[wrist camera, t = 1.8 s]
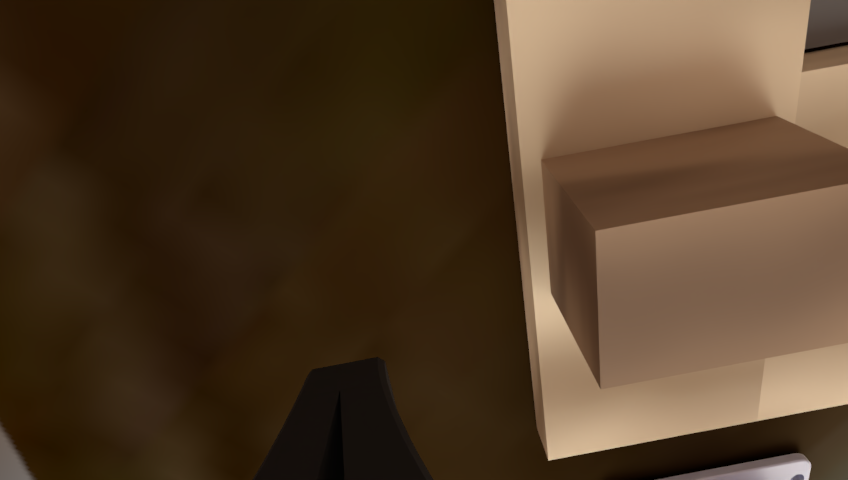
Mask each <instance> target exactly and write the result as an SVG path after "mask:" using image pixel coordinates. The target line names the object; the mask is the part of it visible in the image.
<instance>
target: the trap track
mask: <svg viewBox="0 0 848 480" xmlns="http://www.w3.org/2000/svg"><path fill="white" fill-rule="evenodd" d="M494 7H495V17H496V27H497V37H498V47H499V57H500V67H501V77H502V87H503V97H504V107H505V117H506V127H507V136H508V146H509V156H510V166H511V176H512V186H513V196H514V206H515V216H516V226H517V236H518V246H519V256H520V266H521V276H522V286H523V295H524V305H525V315H526V325H527V335H528V345H529V355H530V365H531V375H532V385H533V395H534V405H535V415H536V425H537V429H538V432H539V435H540V438H541V441H542V444H543V447H544V449H545V452H546V455H547V458H548V461H549V460H554V459H559V458H565V457H570V456H575V455H581V454H586V453H591V452H596V451H602V450H607V449H612V448H618V447H623V446H628V445H633V444H639V443H644V442H649V441H655V440H660V439H665V438H670V437H676V436H681V435H686V434H692V433H697V432H702V431H707V430H713V429H718V428H723V427H729V426H734V425H739V424H744V423H750V422H755V421H760V420H766V419H771V418H776V417H781V416H787V415H792V414H797V413H803V412H808V411H813V410H818V409H824V408H829V407H834V406H840V405H845V404H848V343H845V344H840V345H834V346H829V347H824V348H818V349H813V350H808V351H802V352H797V353H792V354H787V355H781V356H776V357H771V358H765V359H760V360H755V361H749V362H744V363H739V364H733V365H728V366H723V367H718V368H712V369H707V370H702V371H696V372H691V373H686V374H680V375H675V376H670V377H665V378H659V379H654V380H649V381H643V382H638V383H633V384H627V385H622V386H617V387H611V388H606V389H600V387H599V385H598V384H597V382H596V380H595V378H594V376H593V374H592V372H591V370H590V368H589V366H588V364H587V362H586V360H585V358H584V356H583V354H582V353H581V351H580V349H579V347H578V345H577V343H576V341H575V339H574V337H573V335H572V333H571V331H570V329H569V327H568V325H567V323H566V322H565V320H564V318H563V316H562V314H561V312H560V310H559V308H558V306H557V304H556V302H555V300H554V298H553V296H552V294H551V287H550V274H549V261H548V248H547V234H546V221H545V208H544V195H543V181H542V168H541V160H542V159H548V158H553V157H558V156H564V155H569V154H575V153H580V152H585V151H591V150H596V149H601V148H607V147H612V146H618V145H623V144H628V143H634V142H639V141H645V140H650V139H655V138H661V137H666V136H672V135H677V134H682V133H688V132H693V131H698V130H704V129H709V128H715V127H720V126H725V125H731V124H736V123H742V122H747V121H752V120H758V119H763V118H769V117H774V116H778V117H780V118H782V119H785V120H787V121H789V122H791V123H793V124H796V125H798V126H800V127H802V128H804V129H806V130H809V131H811V132H813V133H815V134H817V135H820V136H822V137H824V138H826V139H828V140H830V141H833V142H835V143H837V144H839V145H841V146H843V147H846V148H848V45H845V46H839V47H834V48H829V49H823V50H818V51H812V52H807V53H804V50H805V49H810V48H816V47H821V46H827V45H832V44H837V43H843V42H848V0H494Z"/></svg>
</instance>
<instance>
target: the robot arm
mask: <svg viewBox="0 0 848 480" xmlns="http://www.w3.org/2000/svg"><path fill="white" fill-rule="evenodd" d="M810 470H811V463H810V462H809V460H808V459H807V458H806V457H805V456H804V455H803V454H800V453H793V454H788V455H782V456H777V457H772V458H767V459H761V460H756V461H751V462H745V463H740V464H735V465H730V466H724V467H719V468H714V469H709V470H703V471H698V472H693V473H688V474H682V475H677V476H672V477H666V478H661V479H656V480H809V475H810ZM253 480H433V478H432V477H431V475H430V473H429V472H428V470H427V468H426V467H425V465H424V463H423V461H422V460H421V458H420V456H419V454H418V452H417V451H416V449H415V447H414V445H413V443H412V441H411V439H410V437H409V435H408V433H407V431H406V429H405V427H404V424H403V422H402V420H401V418H400V416H399V414H398V411H397V409H396V405H395V401H394V397H393V392H392V388H391V384H390V380H389V376H388V372H387V368H386V364H385V361H384V360H382V359H380V358H378V357H376V358H371V359H366V360H360V361H355V362H350V363H344V364H339V365H334V366H329V367H323V368H318V369H313V370H312V371H311V372H310V373H309V375H308V376H307V378H306V380H305V383H304V385H303V387H302V389H301V391H300V393H299V395H298V397H297V400H296V402H295V404H294V406H293V408H292V410H291V412H290V414H289V416H288V418H287V419H286V421H285V423H284V425H283V427H282V429H281V431H280V433H279V435H278V436H277V438H276V440H275V442H274V444H273V445H272V447H271V449H270V451H269V453H268V455H267V456H266V458H265V460H264V462H263V463H262V465H261V467H260V469H259V470H258V472H257V473H256V475H255V477H254V478H253Z"/></svg>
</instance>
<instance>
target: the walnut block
mask: <svg viewBox="0 0 848 480" xmlns="http://www.w3.org/2000/svg"><path fill="white" fill-rule="evenodd" d="M541 168H542V181H543V195H544V208H545V221H546V234H547V248H548V261H549V274H550V287H551V294H552V296H553V298H554V300H555V302H556V304H557V306H558V308H559V310H560V312H561V314H562V316H563V318H564V320H565V322H566V323H567V325H568V327H569V329H570V331H571V333H572V335H573V337H574V339H575V341H576V343H577V345H578V347H579V349H580V351H581V353H582V354H583V356H584V358H585V360H586V362H587V364H588V366H589V368H590V370H591V372H592V374H593V376H594V378H595V380H596V382H597V384H598V385H599V387H600V389H606V388H611V387H617V386H622V385H627V384H633V383H638V382H643V381H649V380H654V379H659V378H665V377H670V376H675V375H680V374H686V373H691V372H696V371H702V370H707V369H712V368H718V367H723V366H728V365H733V364H739V363H744V362H749V361H755V360H760V359H765V358H771V357H776V356H781V355H787V354H792V353H797V352H802V351H808V350H813V349H818V348H824V347H829V346H834V345H840V344H845V343H848V148H846V147H843V146H841V145H839V144H837V143H835V142H833V141H830V140H828V139H826V138H824V137H822V136H820V135H817V134H815V133H813V132H811V131H809V130H806V129H804V128H802V127H800V126H798V125H796V124H793V123H791V122H789V121H787V120H785V119H782V118H780V117H778V116H774V117H769V118H763V119H758V120H752V121H747V122H742V123H736V124H731V125H725V126H720V127H715V128H709V129H704V130H698V131H693V132H688V133H682V134H677V135H672V136H666V137H661V138H655V139H650V140H645V141H639V142H634V143H628V144H623V145H618V146H612V147H607V148H601V149H596V150H591V151H585V152H580V153H575V154H569V155H564V156H558V157H553V158H548V159H542V160H541Z"/></svg>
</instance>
